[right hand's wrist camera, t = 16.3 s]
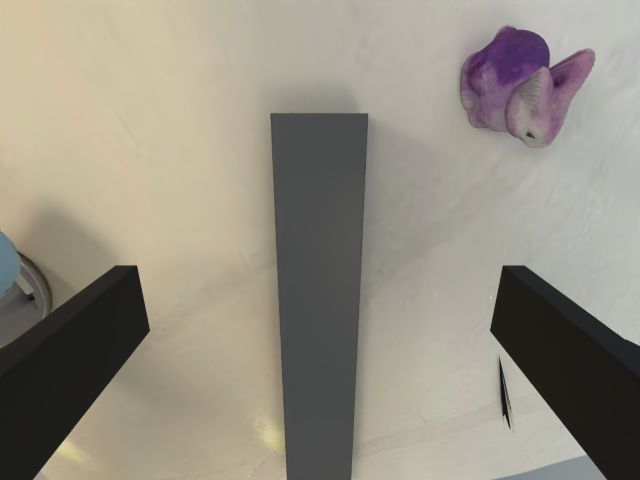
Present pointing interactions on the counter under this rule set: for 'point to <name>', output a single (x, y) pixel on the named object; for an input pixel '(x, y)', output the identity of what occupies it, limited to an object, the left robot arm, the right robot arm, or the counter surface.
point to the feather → (504, 404)
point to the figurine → (522, 86)
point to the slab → (319, 283)
